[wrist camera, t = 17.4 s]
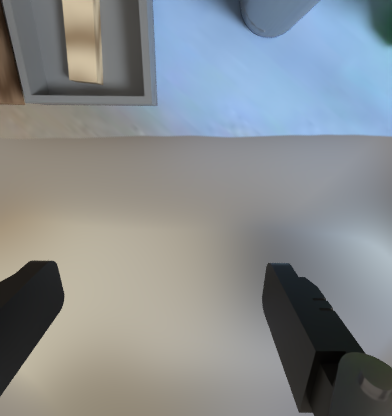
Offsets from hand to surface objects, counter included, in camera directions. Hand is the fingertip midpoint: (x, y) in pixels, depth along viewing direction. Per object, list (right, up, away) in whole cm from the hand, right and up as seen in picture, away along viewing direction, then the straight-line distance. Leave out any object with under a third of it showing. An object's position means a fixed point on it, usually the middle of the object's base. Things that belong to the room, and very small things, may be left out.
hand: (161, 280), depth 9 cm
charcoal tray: (-14, +29, +25) cm, 41 cm away
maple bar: (-15, +28, +25) cm, 40 cm away
